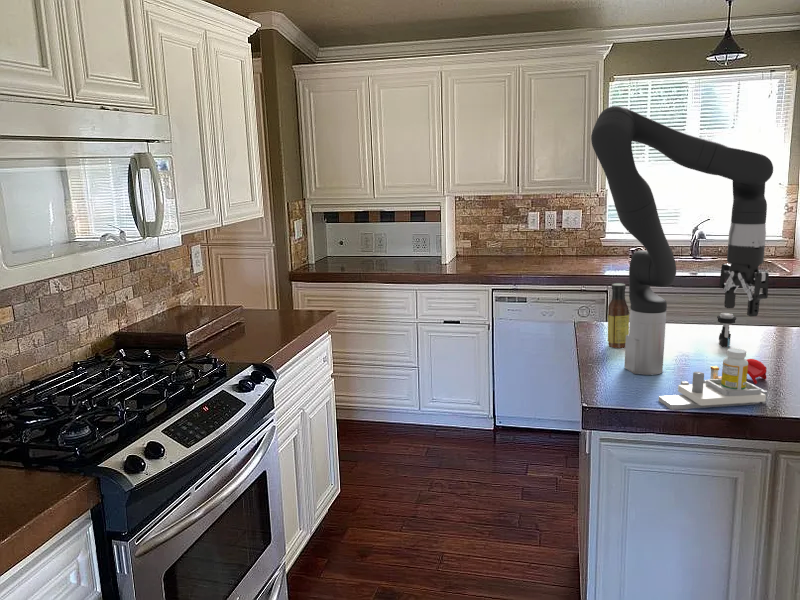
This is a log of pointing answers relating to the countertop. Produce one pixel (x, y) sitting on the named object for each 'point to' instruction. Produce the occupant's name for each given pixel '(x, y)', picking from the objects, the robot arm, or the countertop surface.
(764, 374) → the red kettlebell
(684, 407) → the index track
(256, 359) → the countertop surface
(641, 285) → the robot arm
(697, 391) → the toothed carriage
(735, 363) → the supplement bottle
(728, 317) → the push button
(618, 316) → the sauce bottle
